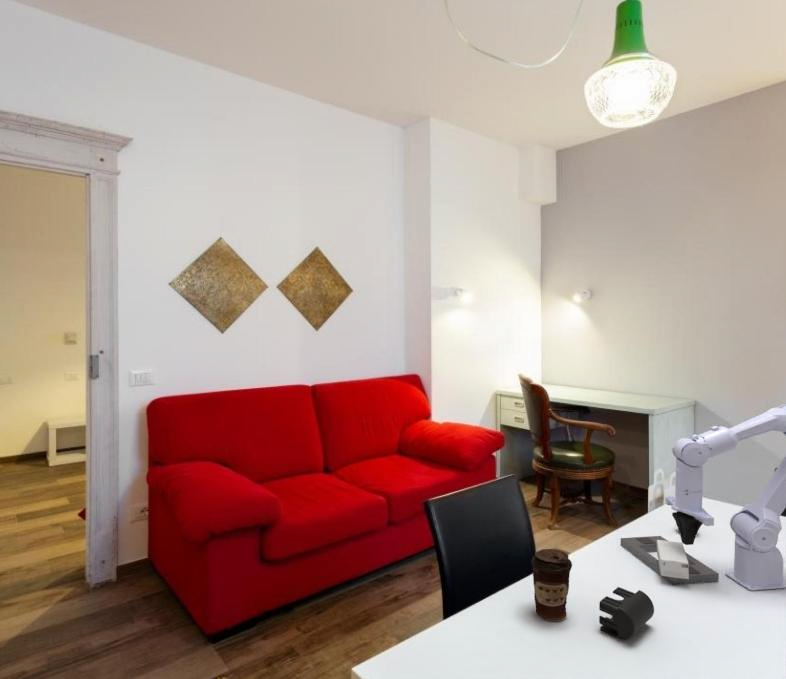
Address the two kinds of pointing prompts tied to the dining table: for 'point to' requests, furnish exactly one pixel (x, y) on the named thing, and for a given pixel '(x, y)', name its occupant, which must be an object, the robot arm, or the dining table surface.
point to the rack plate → (649, 544)
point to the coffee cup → (551, 583)
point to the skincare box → (672, 559)
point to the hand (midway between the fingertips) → (687, 543)
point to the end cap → (625, 613)
